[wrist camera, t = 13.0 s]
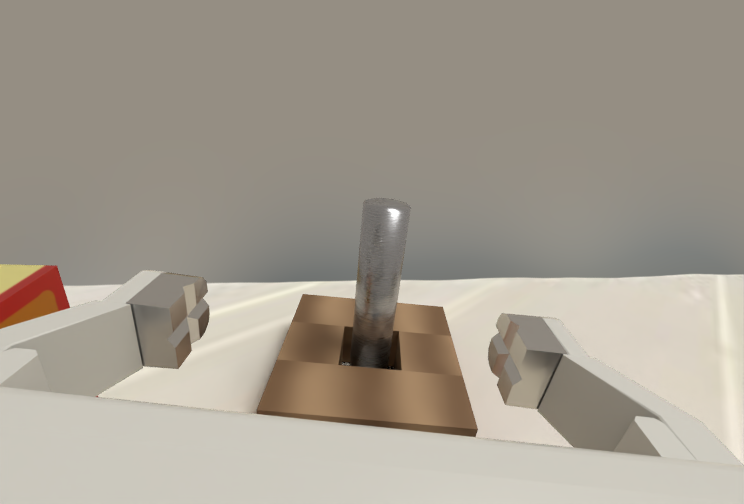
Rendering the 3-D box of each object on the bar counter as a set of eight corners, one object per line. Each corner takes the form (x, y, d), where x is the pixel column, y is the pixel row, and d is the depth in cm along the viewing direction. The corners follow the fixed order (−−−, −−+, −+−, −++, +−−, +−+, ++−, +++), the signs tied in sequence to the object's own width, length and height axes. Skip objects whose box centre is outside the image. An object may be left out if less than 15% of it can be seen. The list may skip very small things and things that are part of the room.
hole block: (259, 452, 24) (256, 409, 22) (302, 327, 36) (302, 294, 35) (464, 470, 24) (477, 429, 22) (436, 339, 36) (442, 307, 35)
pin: (346, 396, 29) (362, 209, 22) (349, 368, 31) (364, 196, 25) (385, 400, 29) (412, 214, 22) (385, 372, 31) (409, 200, 25)
